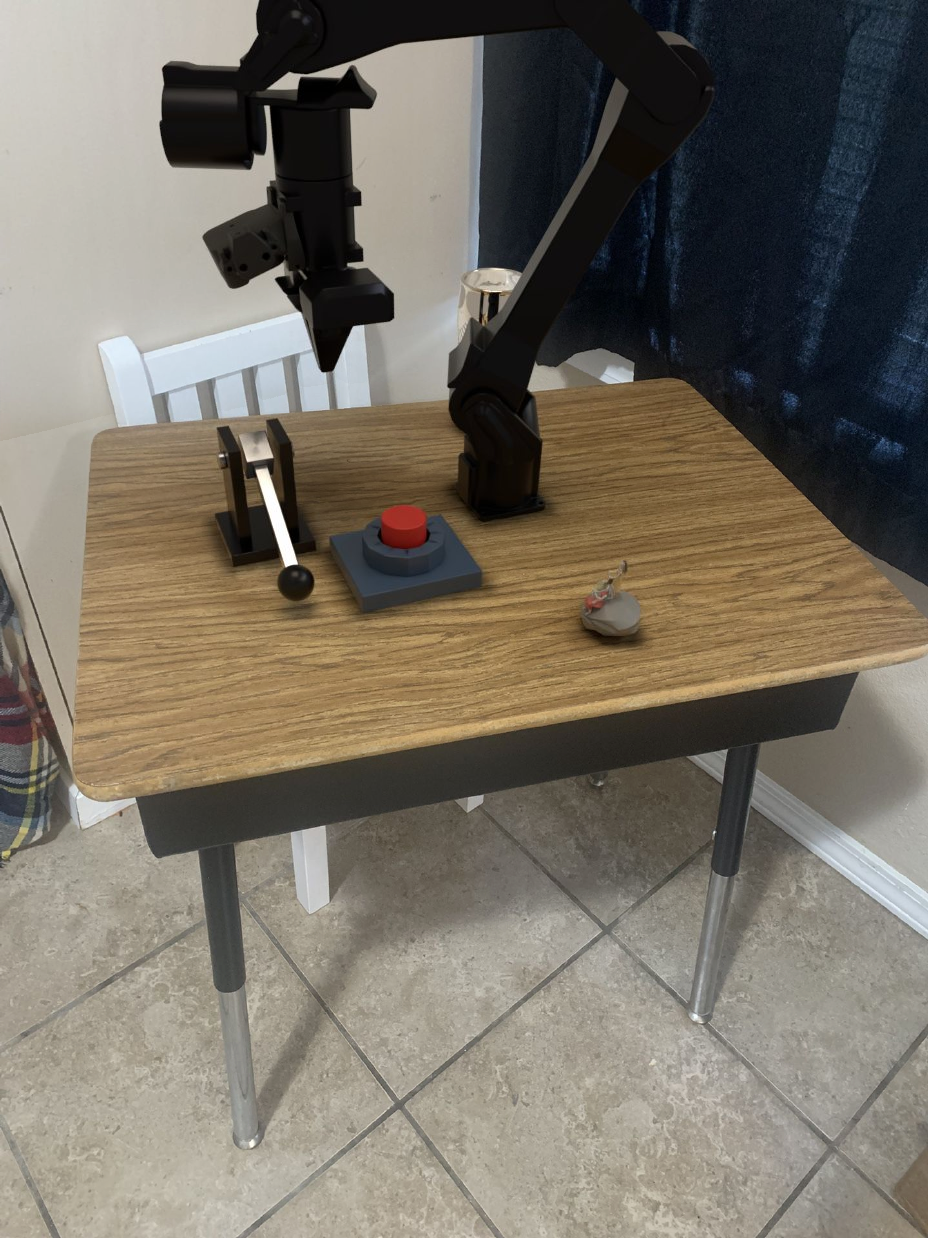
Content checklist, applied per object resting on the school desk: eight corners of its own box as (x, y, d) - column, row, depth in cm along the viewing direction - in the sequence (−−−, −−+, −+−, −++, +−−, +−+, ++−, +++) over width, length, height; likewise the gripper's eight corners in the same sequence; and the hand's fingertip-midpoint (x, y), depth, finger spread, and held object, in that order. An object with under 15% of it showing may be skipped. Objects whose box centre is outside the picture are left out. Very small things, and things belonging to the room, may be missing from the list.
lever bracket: (316, 551, 82) (308, 447, 76) (233, 568, 80) (218, 462, 74) (294, 510, 87) (285, 409, 81) (215, 524, 85) (200, 421, 79)
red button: (417, 522, 80) (417, 501, 79) (433, 545, 78) (433, 524, 76) (375, 531, 79) (374, 509, 78) (390, 554, 77) (389, 532, 75)
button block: (440, 530, 85) (441, 495, 83) (481, 587, 79) (483, 551, 77) (329, 552, 82) (327, 517, 80) (363, 614, 76) (361, 577, 73)
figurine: (647, 643, 74) (659, 579, 70) (593, 653, 73) (602, 588, 69) (619, 602, 78) (629, 539, 74) (567, 611, 77) (574, 547, 73)
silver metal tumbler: (515, 443, 98) (526, 295, 89) (448, 435, 99) (451, 287, 90) (526, 413, 103) (537, 270, 94) (462, 405, 104) (466, 263, 95)
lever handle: (317, 603, 75) (320, 586, 73) (281, 611, 74) (283, 593, 72) (268, 448, 81) (269, 427, 78) (234, 453, 80) (234, 432, 77)
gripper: (181, 148, 76) (207, 340, 86) (232, 216, 63) (256, 435, 73) (319, 140, 80) (330, 325, 90) (395, 202, 67) (398, 412, 76)
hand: (326, 370), depth 82 cm, fingers closed
